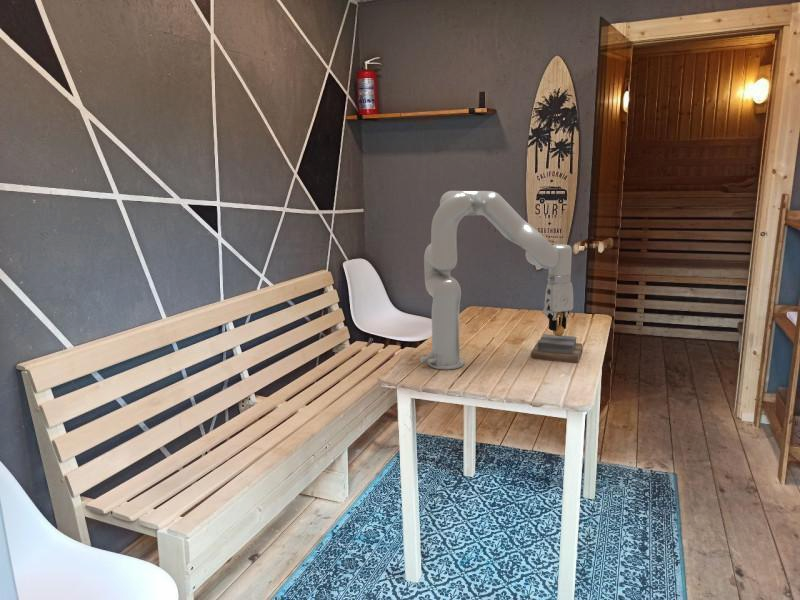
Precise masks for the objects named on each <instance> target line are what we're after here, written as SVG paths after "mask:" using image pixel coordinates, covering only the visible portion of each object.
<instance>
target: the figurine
mask: <svg viewBox="0 0 800 600" xmlns="http://www.w3.org/2000/svg"><path fill="white" fill-rule="evenodd" d="M563 312H564V311H563ZM563 312H562V313H561V312H557V313H556V319H555V320H557V325H556V331H552V332H553V335H556V336H564V334H565V329H564V328H563V327H562V318H563ZM568 312H569V314H568V315H569V317H572V314H571V311H569V310H568ZM559 317H560V318H561V320H560V321H561V322H560V325H559Z"/></svg>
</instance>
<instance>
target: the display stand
mask: <svg viewBox="0 0 800 600" xmlns="http://www.w3.org/2000/svg"><path fill="white" fill-rule="evenodd" d="M582 351H583V343H578V342H577V336H572V335H571V336H569V335H562V336H556V335H555V334H547V333H546V334H545V333H542V336H541V337H540V339H538V340H537V341H536V343H535V345H534V347H533V349H531V351H530V359H531V360H542V361H552V362H560V361H561V362H563V363H572V364H578V363H579V360H580V357H581V353H582Z"/></svg>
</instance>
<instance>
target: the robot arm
mask: <svg viewBox="0 0 800 600" xmlns="http://www.w3.org/2000/svg"><path fill="white" fill-rule="evenodd" d="M465 216H483V217H484V218H486V219H487V221H488V222H489V223H491V224H492V225H493V226H494V227H495V229H496V230H498V231H499V232H500V233H501V235H502V236H503V237H504V238H505V239H506V240H509V241H510V242H511V243H514V244H516V245H518V246H519V247H520V248H522V249H523V250H525V259H526V261H527V262H528V263H529V264H531V265H533V266H536V267H538V268H541V269H545V270H548V277H547V280H546V281H547V282H548V283H547V284H546V289H545V297H544V308H543V309H542V314H544V315H545V316H546V317H547V319H548V330H550V331H552V332H553V331H556V325H557V320H556V313H558V312H561V313H562V312H563V318H562V327H563V328H564V330H566V329H567V319H568V318H569V315H570V314H569V312H568V310H569V311H570V312H572V310H573V309H574V287H573V283H572V282H571V275H572V274H571V273H572V257H573V256H572V255H573V250H572V246H571V245H569V244H564V243H563V244H562V243H560V244H559V243H557V244H556V243H555V244H551V242H550V241H549V240H548V239H547V238H546V237H545V236H544V235H543V234H541V232H539V231H538V230H536V228H534V227H533V226H532V225H531V224H530V223H529V222H527V221H526V220H524V218H523V217H521V215H519V214H518V212H517V211H516V210H515V209H514V208H513V207H512V206H511V205H510V204H509V202H507V201H506V200H505V199H504V197H502V196H501V194H500V193H498V192H496V191H492V190H468V191H467V190H449V191H446V192H445V193H443V195H442V196H441V198H440V200H439V207H438V208H437V209H436V211H435V213H434V215H433V218H432V220H431V229H430V230H431V233H430V235H431V236H430V237H431V238H430V240H431V241H430V243H429V244H428V245H427V247H426V248H425V249H424V250H425V251H424V255H423V265H424V266H423V267H424V269H423V270H424V285H425V289H426V292H427V293H428V294H429V295H430V296H431V297H432V305H431V351H429V354H427V356H422V357H419V360H420V363H423V364H424V363H427V365H428V366H429V367H430V368H433V369H435V370H446V371H447V370H448V371H449V370H455V369H459V368H461V367H463V366H464V365H465V361H464V359H463V358H461V357H460V307H461V306H460V305H461V297H462V289H461V285H460V283H459V282H458V280H456V278H454V277H453V276H451V271H452V270H453V269H455V268H456V266H457V263H458V246H457V245H458V244H457V243H458V242H457V240H458V239H457V238H458V236H457V233H458V226H459V224H460V222H461V220H462V219H463V218H464V217H465ZM560 320H561V318H560V316H558V325H560V322H561V321H560Z"/></svg>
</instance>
